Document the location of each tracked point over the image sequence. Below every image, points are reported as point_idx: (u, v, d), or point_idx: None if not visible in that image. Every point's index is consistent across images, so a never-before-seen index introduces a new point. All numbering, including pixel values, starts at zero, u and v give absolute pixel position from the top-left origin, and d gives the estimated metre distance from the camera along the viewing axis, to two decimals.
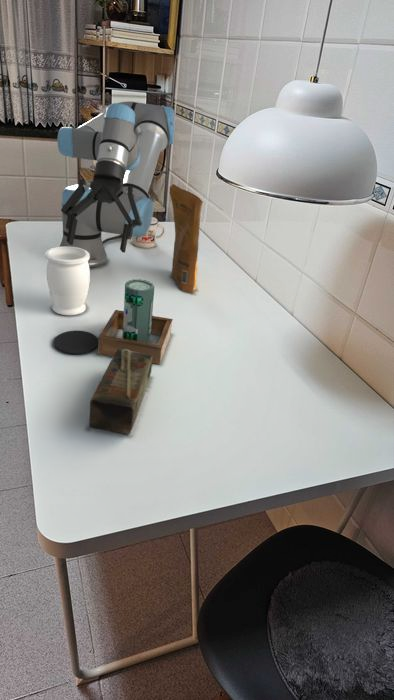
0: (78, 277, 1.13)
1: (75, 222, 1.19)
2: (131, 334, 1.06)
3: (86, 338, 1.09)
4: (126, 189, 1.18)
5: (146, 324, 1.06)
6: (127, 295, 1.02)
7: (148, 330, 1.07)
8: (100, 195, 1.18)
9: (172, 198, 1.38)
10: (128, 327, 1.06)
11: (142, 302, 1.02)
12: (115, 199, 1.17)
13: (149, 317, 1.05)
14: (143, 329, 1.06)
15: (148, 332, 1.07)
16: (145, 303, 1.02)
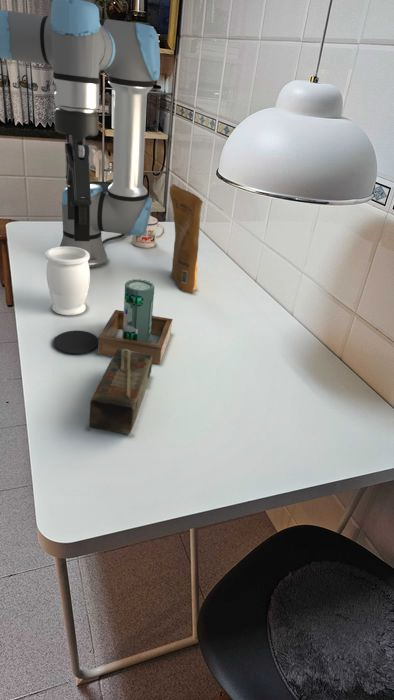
0: (78, 277, 1.13)
1: None
2: (131, 334, 1.06)
3: (86, 338, 1.09)
4: None
5: (146, 324, 1.06)
6: (127, 295, 1.02)
7: (148, 330, 1.07)
8: None
9: (172, 198, 1.38)
10: (128, 327, 1.06)
11: (142, 302, 1.02)
12: (69, 167, 0.84)
13: (149, 317, 1.05)
14: (143, 329, 1.06)
15: (148, 332, 1.07)
16: (145, 303, 1.02)
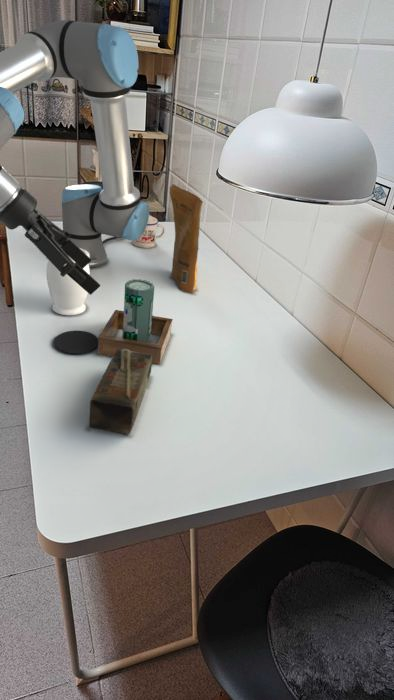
0: None
1: (69, 245, 1.00)
2: (131, 334, 1.06)
3: (86, 338, 1.09)
4: None
5: (146, 324, 1.06)
6: (127, 295, 1.02)
7: (148, 330, 1.07)
8: None
9: (172, 198, 1.38)
10: (128, 327, 1.06)
11: (142, 302, 1.02)
12: None
13: (149, 317, 1.05)
14: (143, 329, 1.06)
15: (148, 332, 1.07)
16: (145, 303, 1.02)
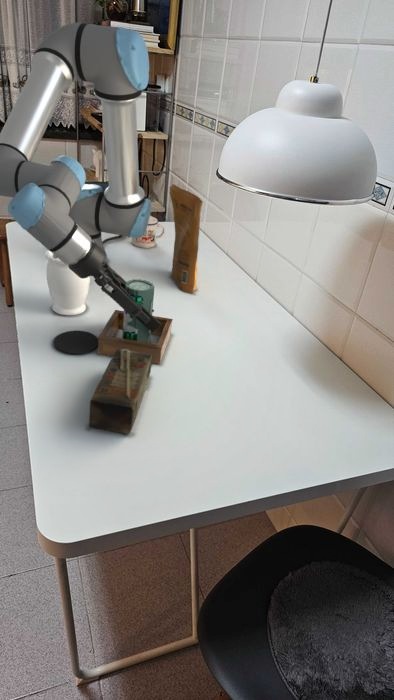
0: (78, 277, 1.13)
1: None
2: (131, 334, 1.06)
3: (86, 338, 1.09)
4: None
5: None
6: None
7: (148, 330, 1.07)
8: None
9: (172, 198, 1.38)
10: (128, 327, 1.06)
11: (142, 302, 1.02)
12: None
13: None
14: (143, 329, 1.06)
15: (148, 332, 1.07)
16: (145, 303, 1.02)
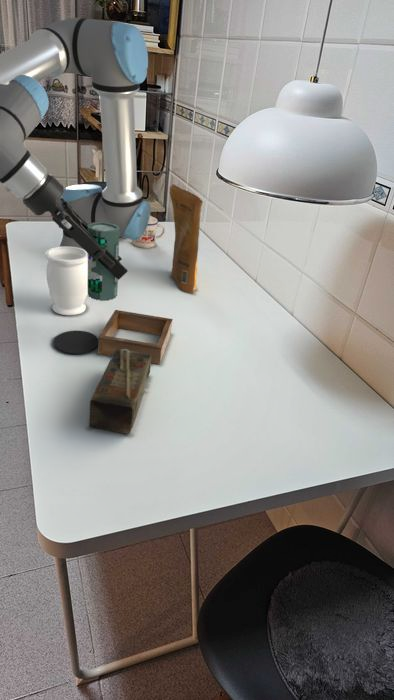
0: (78, 277, 1.13)
1: None
2: (95, 281, 0.98)
3: (86, 338, 1.09)
4: None
5: None
6: None
7: (114, 278, 0.99)
8: None
9: (172, 198, 1.38)
10: (92, 274, 0.98)
11: (106, 244, 0.94)
12: None
13: None
14: (108, 276, 0.98)
15: (114, 280, 1.00)
16: (109, 246, 0.94)
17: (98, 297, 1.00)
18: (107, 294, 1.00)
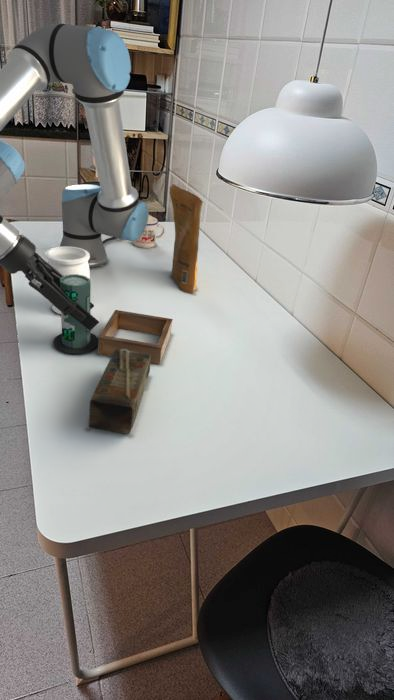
0: None
1: None
2: (68, 331, 1.03)
3: None
4: None
5: None
6: (62, 290, 0.99)
7: None
8: None
9: (172, 198, 1.38)
10: (65, 324, 1.02)
11: (77, 297, 0.99)
12: None
13: None
14: (81, 326, 1.02)
15: (86, 329, 1.04)
16: (80, 299, 0.99)
17: (71, 345, 1.05)
18: (80, 342, 1.04)
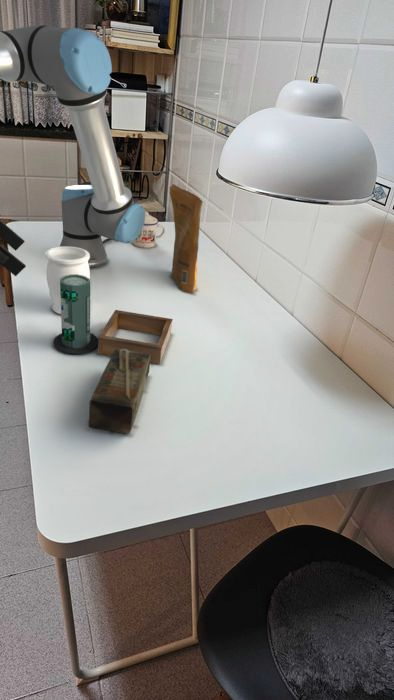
0: None
1: None
2: (68, 331, 1.03)
3: None
4: None
5: (83, 320, 1.02)
6: (61, 290, 0.99)
7: (86, 327, 1.04)
8: None
9: (172, 198, 1.38)
10: (65, 324, 1.02)
11: (77, 297, 0.99)
12: None
13: (86, 313, 1.02)
14: (81, 326, 1.02)
15: (86, 329, 1.04)
16: (80, 299, 0.99)
17: (71, 345, 1.05)
18: (80, 342, 1.04)
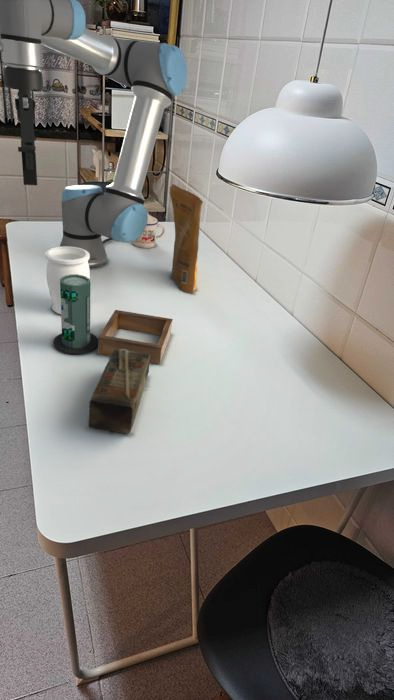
0: None
1: None
2: (68, 331, 1.03)
3: None
4: None
5: (83, 320, 1.02)
6: (61, 290, 0.99)
7: (86, 327, 1.04)
8: None
9: (172, 198, 1.38)
10: (65, 324, 1.02)
11: (77, 297, 0.99)
12: (17, 118, 0.96)
13: (86, 313, 1.02)
14: (81, 326, 1.02)
15: (86, 329, 1.04)
16: (80, 299, 0.99)
17: (71, 345, 1.05)
18: (80, 342, 1.04)
